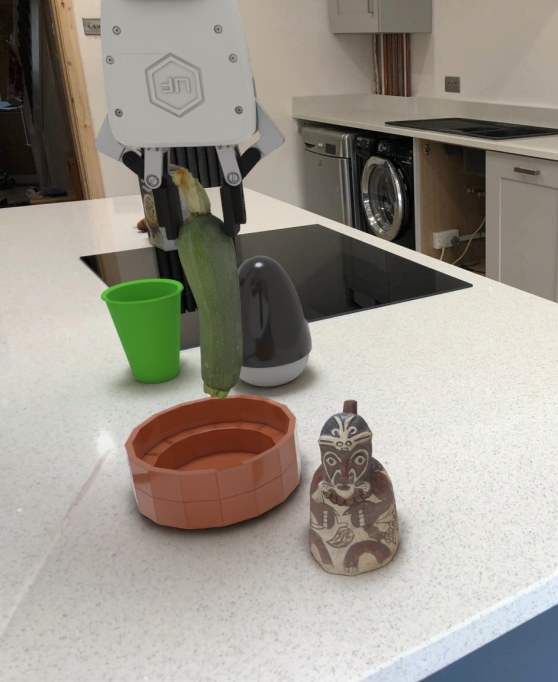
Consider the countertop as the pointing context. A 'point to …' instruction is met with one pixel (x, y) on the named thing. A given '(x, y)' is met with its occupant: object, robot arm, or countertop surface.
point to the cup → (148, 326)
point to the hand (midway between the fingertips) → (204, 232)
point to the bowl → (214, 461)
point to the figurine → (351, 499)
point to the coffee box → (154, 231)
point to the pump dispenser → (271, 324)
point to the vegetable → (211, 286)
